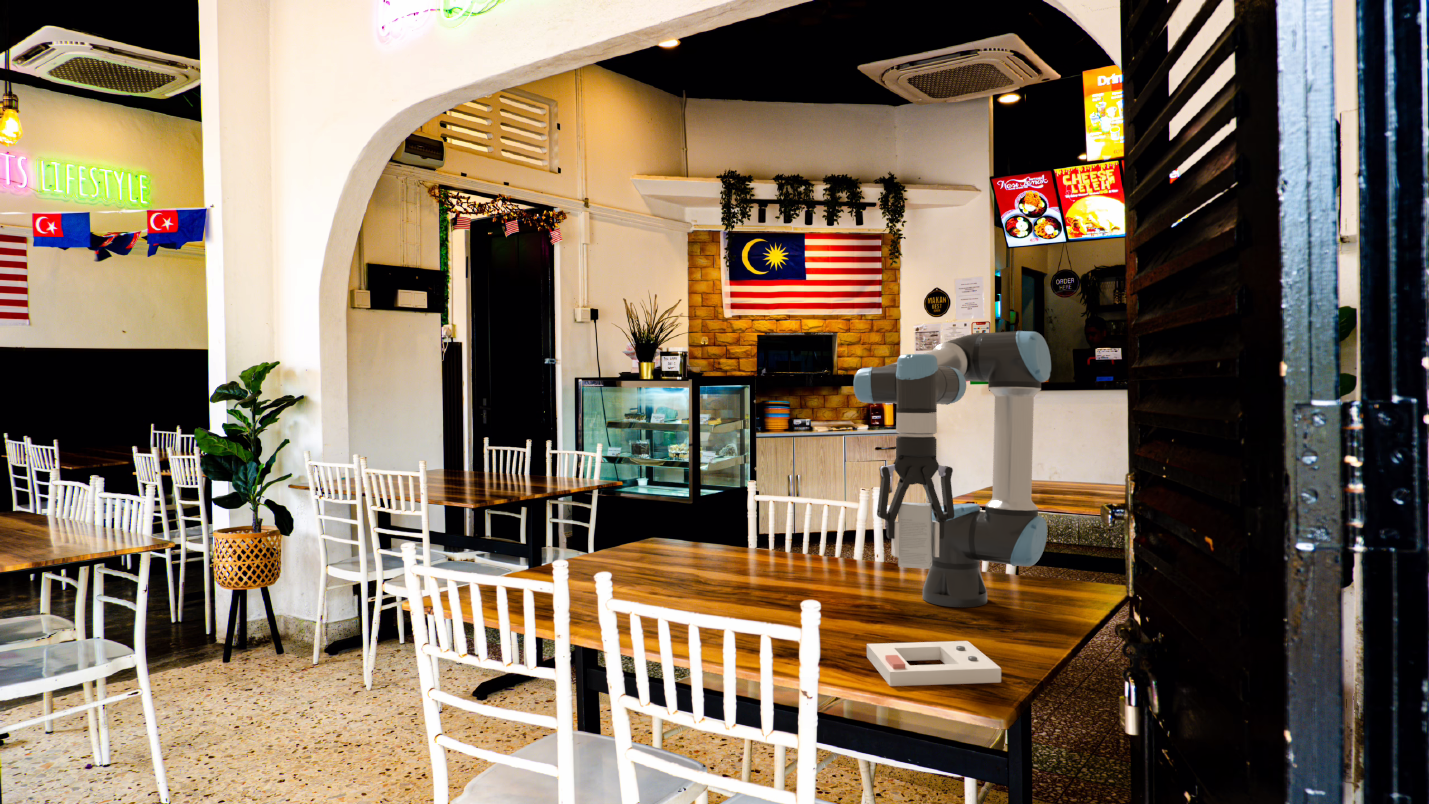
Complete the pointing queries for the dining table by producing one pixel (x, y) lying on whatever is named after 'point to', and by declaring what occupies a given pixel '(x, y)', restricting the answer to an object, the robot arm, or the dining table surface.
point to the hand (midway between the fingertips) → (915, 555)
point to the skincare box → (915, 535)
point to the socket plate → (957, 669)
